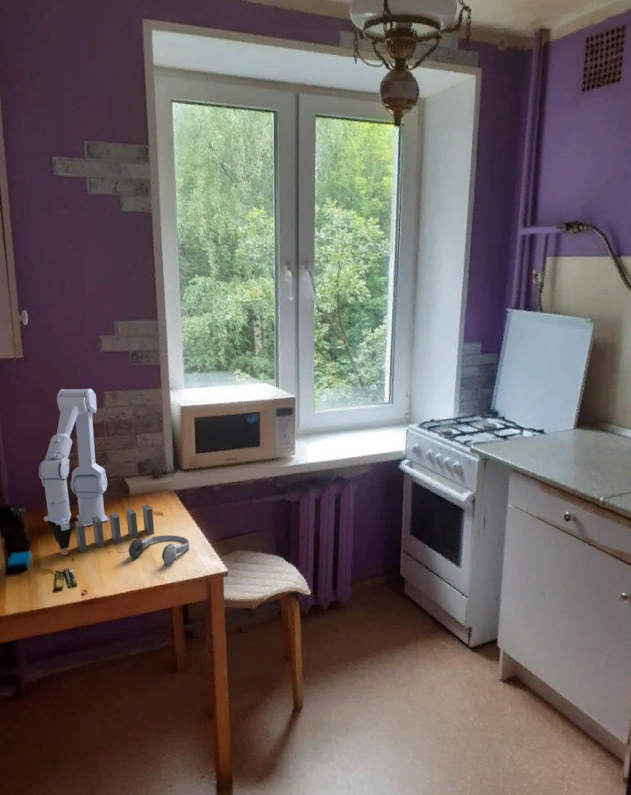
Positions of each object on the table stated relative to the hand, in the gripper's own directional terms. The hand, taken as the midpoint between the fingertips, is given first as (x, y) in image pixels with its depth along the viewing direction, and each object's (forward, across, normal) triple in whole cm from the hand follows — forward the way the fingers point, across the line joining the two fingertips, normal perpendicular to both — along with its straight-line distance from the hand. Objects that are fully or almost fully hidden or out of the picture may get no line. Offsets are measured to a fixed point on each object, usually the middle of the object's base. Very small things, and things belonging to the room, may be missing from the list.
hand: (62, 544), depth 173 cm
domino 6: (+3, 0, +25) cm, 25 cm away
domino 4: (+3, 0, +15) cm, 15 cm away
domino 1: (+2, 0, 0) cm, 2 cm away
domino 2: (+3, 0, +5) cm, 6 cm away
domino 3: (+3, 0, +10) cm, 10 cm away
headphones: (+3, +16, +21) cm, 27 cm away
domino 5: (+3, 0, +20) cm, 20 cm away
